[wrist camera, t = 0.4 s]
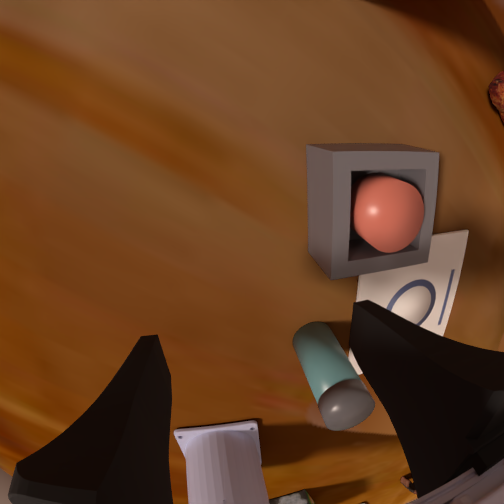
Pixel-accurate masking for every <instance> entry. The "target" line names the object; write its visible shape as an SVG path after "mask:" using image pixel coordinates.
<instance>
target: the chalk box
mask: <svg viewBox="0 0 504 504" xmlns="http://www.w3.org/2000/svg"><path fill="white" fill-rule="evenodd" d="M269 503H270V504H315V503H314V501H313V500H312V498H311V497H310V495H309V494H308V493H307V491H306V490H305V489H304V490H302V491H299V492H296V493H293V494H290V495H286V496H283V497H279V498H275V499H271V500H269Z"/></svg>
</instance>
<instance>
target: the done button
mask: <svg viewBox="0 0 504 504" xmlns="http://www.w3.org/2000/svg"><path fill="white" fill-rule="evenodd" d="M423 218H424V204H423V200H422V197H421V195H420V193H419V192H418V190H417V189H416V188H415V187H414V186H412V185H411V184H409V183H406V182H404V181H401V180H399V179H396V178H393V177H391V176H388V175H385V174H383V173H369V174H366V175H364V176H362V177H360V178H359V179H358V180H357V181H356V182H355V183H354V184H353V185H352V186H351V207H350V228H351V229H352V230H353V231H354V232H356V233H357V234H358V235H359V236H361V237H362V238H363V239H364V240H366V241H367V242H368V243H369V244H371V245H372V246H373V247H374V248H376V249H377V250H379V251H381V252H386V253H392V252H397V251H399V250H401V249H403V248H405V247H406V246H408V245H409V244H410V243H411V242H412V241H413V240H414V239H415V237H416V236H417V234H418V232H419V230H420V228H421V226H422V223H423Z"/></svg>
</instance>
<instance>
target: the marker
mask: <svg viewBox="0 0 504 504" xmlns="http://www.w3.org/2000/svg"><path fill="white" fill-rule="evenodd" d="M293 347H294V349H295V351H296V354H297V356H298V358H299V361H300V363H301V366H302V368H303V370H304V373H305V375H306V377H307V380H308V382H309V385H310V387H311V389H312V392H313V394H314V396H315V399H316V401H317V404H318V408H319V410H320V413H321V415H322V417H323V420H324V422H325V425H326V427H327V428H328V429H330V430H334V431H339V430H345V429H349V428H351V427H354V426H356V425H357V424H359V423H361V422H362V421H364V420H365V419H366V418H367V417H368V416H369V415H370V414H371V413H372V411H373V410H374V407H375V402H374V400H373V398H372V396H371V395H370V393H369V391H368V390H367V388H366V386H365V384H364V383H363V382H362V381H361V379H360V378H359V376H358V374H357V372H356V371H355V369H354V367H353V366H352V364H351V362H350V361H349V359H348V357H347V356H346V354H345V352H344V351H343V349H342V347H341V346H340V344H339V342H338V341H337V339H336V337H335V336H334V334H333V332H332V331H331V329H330V327H329V326H328V325H327V324H325V323H323V322H312V323H308V324H306V325H304V326H303V327H301V328H300V329H299V330H298V331H297V332H296V333H295V335H294V337H293Z"/></svg>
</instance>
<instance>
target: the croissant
mask: <svg viewBox="0 0 504 504" xmlns="http://www.w3.org/2000/svg"><path fill="white" fill-rule="evenodd" d="M489 94H490V98H491V100H492V102H493V104H494V105H495V106H496V108H497V109H498V110H499V113H500V116H501V119H502V121H503V123H504V71H501V72H499V74H498V75H497V76H496V77H495V78H494V79H493V81H492V82H491V83H490V85H489Z"/></svg>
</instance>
